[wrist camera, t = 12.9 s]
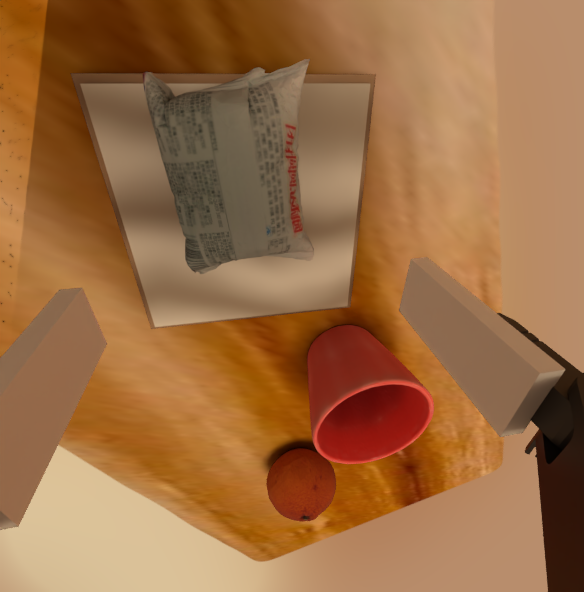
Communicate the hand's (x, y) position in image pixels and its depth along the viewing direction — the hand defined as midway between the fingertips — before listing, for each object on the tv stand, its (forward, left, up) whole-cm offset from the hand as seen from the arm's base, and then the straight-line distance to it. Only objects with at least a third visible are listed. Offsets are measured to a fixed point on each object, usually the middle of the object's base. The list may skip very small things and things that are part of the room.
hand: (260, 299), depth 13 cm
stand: (0, 0, -14) cm, 14 cm away
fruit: (+35, +4, -14) cm, 38 cm away
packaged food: (0, +2, -13) cm, 13 cm away
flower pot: (+16, +9, -14) cm, 23 cm away
